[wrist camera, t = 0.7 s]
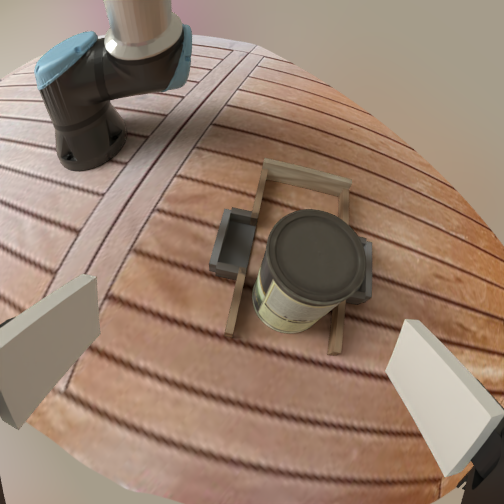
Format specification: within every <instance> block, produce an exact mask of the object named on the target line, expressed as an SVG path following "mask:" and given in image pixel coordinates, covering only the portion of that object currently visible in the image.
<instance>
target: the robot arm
mask: <svg viewBox="0 0 504 504" xmlns="http://www.w3.org/2000/svg"><path fill="white" fill-rule="evenodd" d="M103 1H104V5H105V9H106V12H107V16H108V20H109V24H110V28H109V30H108V31H107V33H106V36H105V38H101V39H98V36H97V35H96V33H95V32H93V31H90V32H83V33H80V34H77V35H75V36H72V37H70V38H68V39H66V40H64V41H63V42H61V43H59V44H58V45H56V46H55V47H53V48H52V49H50V50H49V51H48V52H47V53H45V54H44V55H43V56H42V57H41V58H40V60H39V61H38V62H37V64H36V66H35V70H34V73H35V77H36V81H37V85H38V86H37V88H38V90H39V91H40V93H41V96H42V99H43V101H44V104H45V106H46V109H47V111H48V113H49V116H50V118H51V121H52V123H53V125H54V128H55V137H56V152H57V155H58V158H59V160H60V162H61V164H62V165H63V166H64V167H65V168H67V169H69V170H74V171H82V170H88V169H91V168H94V167H97V166H99V165H101V164H103V163H105V162H106V161H108V160H109V159H111V158H112V157H113V156H115V155H116V154H117V153H118V152H119V151H120V149H121V148H122V147H123V145H124V143H125V141H126V138H127V130H126V126H125V123H124V121H123V119H122V117H121V116H120V115H119V113H118V112H117V111H116V109H115V108H114V107H113V105H112V104H111V103H110V100H113V99H118V98H123V97H129V96H135V95H142V94H148V93H156V92H165V91H167V90H172V89H178V88H181V87H182V86H184V85H185V83H186V82H187V79H188V76H189V71H190V64H191V58H190V57H191V53H192V31H191V28H190V26H188V25H184V24H182V22H181V20H180V18H179V17H178V16H177V15H176V14H175V13H173V12H171V0H103ZM99 335H100V324H99V311H98V294H97V277H95V276H90V275H86V274H81V275H79V276H78V277H76V278H75V279H73V280H71V281H70V282H68V283H67V284H65V285H63V286H62V287H60V288H59V289H57V290H56V291H54V292H53V293H51V294H50V295H48V296H46V297H45V298H43V299H42V300H40V301H39V302H37V303H36V304H34V305H33V306H31V307H30V308H28V309H27V310H26V311H24V312H23V313H21V314H20V315H18V316H17V317H14V318H11V319H8V320H6V321H5V322H4V323H2V324H1V325H0V416H1V418H2V420H3V421H4V422H6V423H8V424H9V425H11V426H13V427H14V428H16V429H18V430H19V429H20V428H21V427H22V425H23V424H24V423H25V421H26V420H27V419H28V418H29V416H30V415H31V414H32V413H33V411H34V410H35V409H36V408H37V407H38V405H39V404H40V403H41V402H42V400H43V399H44V398H45V397H46V396H47V394H48V393H49V392H50V391H51V390H52V388H53V387H54V386H55V385H56V384H57V383H58V381H59V380H60V379H61V378H62V377H63V376H64V374H65V373H66V372H67V371H68V370H69V369H70V367H71V366H72V365H73V364H74V363H75V362H76V361H77V359H78V358H79V357H80V356H81V355H82V354H83V353H84V352H85V350H86V349H87V348H88V347H89V346H90V345H91V344H92V343H93V341H94V340H95V339H96V338H97V337H98V336H99ZM385 372H386V373H387V375H388V377H389V378H390V380H391V382H392V383H393V385H394V387H395V388H396V390H397V392H398V393H399V395H400V397H401V399H402V400H403V402H404V404H405V405H406V407H407V409H408V411H409V412H410V414H411V416H412V418H413V419H414V421H415V423H416V425H417V426H418V428H419V430H420V432H421V434H422V435H423V437H424V439H425V441H426V443H427V445H428V446H429V448H430V450H431V452H432V454H433V456H434V458H435V459H436V461H437V463H438V465H439V467H440V469H441V471H442V473H443V475H444V477H448V476H451V475H454V474H457V473H460V472H461V471H462V470H463V469H464V468H465V467H466V466H467V464H468V463H469V462H470V461H472V463H473V465H474V466H473V468H472V469H471V470H470V471H469V472H468V473H467V474H466V475H465V476H464V478H463V479H462V480H461V481H460V482H459V483H458V485H457V488H459V487H460V486H461V485H462V484H463V483H464V482H466V485H465V486H464V487H463V488H462V489H464V490H465V491H464V495H463V498H462V502H461V504H504V408H503V407H502V406H501V405H500V404H499V403H498V402H497V400H496V399H495V398H494V397H493V396H492V395H490V392H489V391H488V390H487V389H485V387H484V386H483V385H482V384H481V383H480V381H479V380H478V379H476V378H475V377H474V376H473V375H472V374H471V373H470V372H469V371H468V370H467V369H466V368H465V367H464V365H463V364H462V363H461V362H460V361H459V360H458V359H457V358H456V357H455V356H454V355H453V354H452V353H451V352H450V351H449V350H448V349H447V348H446V347H445V346H444V345H443V344H442V343H441V342H440V341H439V340H438V339H437V338H436V337H435V336H434V335H433V334H432V333H431V332H430V331H429V330H428V329H427V328H426V327H425V326H424V325H423V324H422V323H421V322H420V321H419V320H411V319H405V321H404V324H403V326H402V329H401V332H400V335H399V338H398V340H397V343H396V346H395V348H394V351H393V353H392V356H391V358H390V361H389V363H388V366H387V368H386V371H385ZM0 504H6V503H5V499H4V494H3V489H2V484H1V478H0Z"/></svg>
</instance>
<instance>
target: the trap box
mask: <svg viewBox="0 0 504 504" xmlns="http://www.w3.org/2000/svg"><path fill="white" fill-rule="evenodd" d="M266 179H268V180H272V181H277V182H281V183H285V184H290V185H294V186H298V187H302V188H306V189H311V190H315V191H319V192H323V193H326V194H330V195H334V196H338V197H339V203H338V217H339V218H340V219H342V220H343V221H344V222H346V223H347V224H348V225H349V188H350V187H351V185H352V180H351V179H348V178H344V177H341V176H337V175H334V174H330V173H326V172H322V171H318V170H314V169H311V168H307V167H302V166H298V165H294V164H290V163H286V162H281V161H277V160H272V159H268V158H264V162H263V167H262V171H261V176H260V180H259V184H258V188H257V193H256V197H255V201H254V206H253V210H252V211H247V210H242V209H238V208H233V207H232V210H229V209H224V213H223V216H222V220H221V223H220V227H219V230H218V234H217V237H216V241H215V244H214V248H213V251H212V255H211V259H210V262H209V269H210V271H212V272H216V276H219V277H224V278H228V279H233V280H236V285H235V289H234V294H233V298H232V302H231V307H230V311H229V316H228V320H227V325H226V329H225V336H227V337H231V338H232V336H233V331H234V327H235V322H236V317H237V313H238V308H239V303H240V299H241V294H242V289H243V285H244V280H245V275H246V271H247V266H248V261H249V256H250V252H251V247H252V242H253V238H254V233H255V228H256V224H257V219H258V215H259V210H260V205H261V201H262V196H263V191H264V187H265V182H266ZM358 237H359V236H358ZM359 239H360V240H361V242H362V245H363V247H364V250H365V255H366V272H365V276H364V279H363V282H362V284H361V285H360V287H359V288H358V289H357V291H356V292H355V293H354V294H353V295H352V296H350V297H349V298H348V299H346V300H344V301H342V302H341V303H339V304H338V305H337V306H336V307H334V308H333V309H332V318H331V328H330V337H329V345H328V353H327V355H333V356H334V355H337V354H340V353H341V348H342V339H343V329H344V318H345V305H346V303H352V304H357V305H358V304H360V303H361V302H363V303H364V302H366V301H367V300H368V299H370V298H371V297H372V242H368V241H366V238H363V237H359Z"/></svg>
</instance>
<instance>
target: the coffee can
mask: <svg viewBox="0 0 504 504" xmlns="http://www.w3.org/2000/svg"><path fill="white" fill-rule="evenodd" d="M365 272H366V255H365V250H364V247H363V245H362V242H361V240H360V239H359V237H358V235H357V234H356V233H355V232H354V230H353V229H352V228H351V227H350V226H349V225H348V224H347V223H346V222H344V221H343V220H342V219H340V218H339V217H337V216H335V215H332V214H330V213H328V212H324V211H320V210H313V209H306V210H299V211H295V212H293V213H290V214H288V215H286V216H285V217H283V218H282V219H280V220H279V221H278V222H277V223H276V224H275V226H274V227H273V229H272V231H271V232H270V235H269V237H268V241H267V246H266V251H265V254H264V258H263V261H262V264H261V267H260V270H259V274H258V277H257V280H256V282H255V284H254V287H253V292H252V301H253V306H254V309H255V312H256V314H257V315H258V317H259V318H260V319H261V321H262V322H263V323H264V324H266V325H267V326H268V327H270V328H271V329H273V330H275V331H278V332H281V333H289V334H290V333H298V332H302V331H304V330H306V329H308V328H310V327H311V326H312V325H314V324H315V323H316V321H318V320H319V319H320V318H322V317H323V316H324V315H326V314H327V313H328V312H329V311H331V310H332V309H333V308H334V307H336V306H337V305H338V304H339V303H341V302H342V301H344V300H346V299H348V298H349V297H350V296H352V295H353V294H354V293H355V292H356V291H357V289H358V288H359V287H360V285H361V284H362V282H363V279H364V276H365Z"/></svg>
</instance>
